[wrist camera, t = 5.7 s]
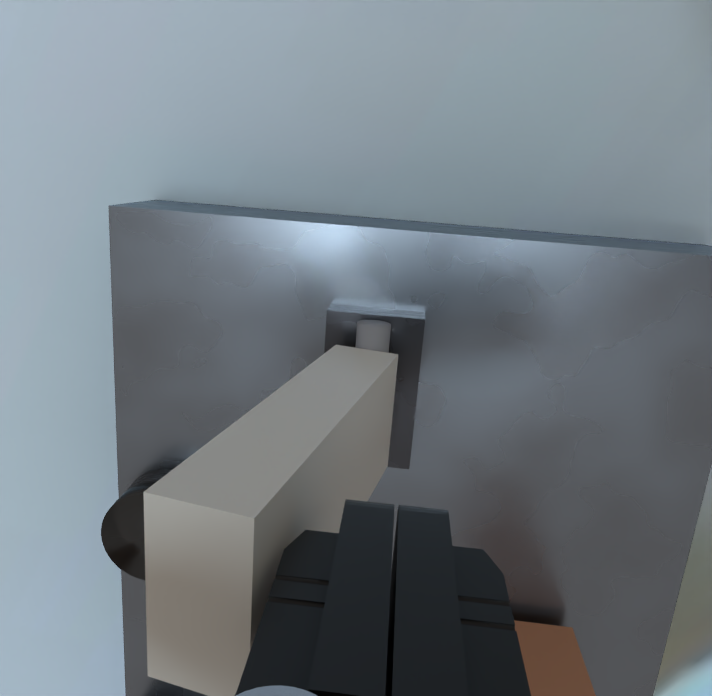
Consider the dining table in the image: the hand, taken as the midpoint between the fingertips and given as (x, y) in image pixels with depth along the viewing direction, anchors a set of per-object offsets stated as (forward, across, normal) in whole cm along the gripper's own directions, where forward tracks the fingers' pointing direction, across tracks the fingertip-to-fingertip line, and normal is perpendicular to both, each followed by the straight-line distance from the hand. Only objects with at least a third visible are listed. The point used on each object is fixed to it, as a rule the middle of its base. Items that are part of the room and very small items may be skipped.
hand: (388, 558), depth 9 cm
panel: (+11, 0, +8) cm, 14 cm away
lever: (+6, +1, 0) cm, 6 cm away
